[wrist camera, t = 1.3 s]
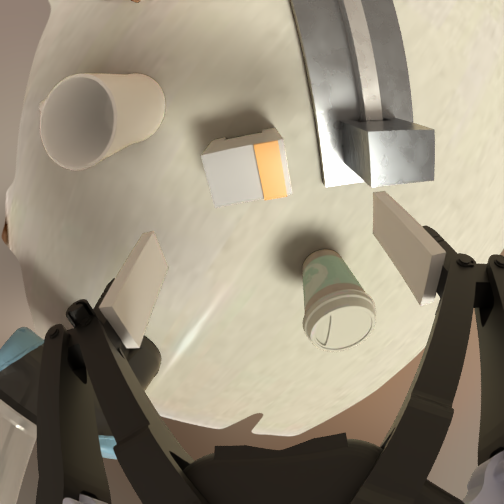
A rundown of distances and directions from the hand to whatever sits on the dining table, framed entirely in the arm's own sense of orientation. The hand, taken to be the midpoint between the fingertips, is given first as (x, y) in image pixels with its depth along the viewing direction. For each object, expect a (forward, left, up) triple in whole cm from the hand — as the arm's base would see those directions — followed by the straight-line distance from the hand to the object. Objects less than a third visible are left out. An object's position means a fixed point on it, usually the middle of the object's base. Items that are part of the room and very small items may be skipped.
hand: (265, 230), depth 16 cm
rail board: (+13, +11, -17) cm, 24 cm away
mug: (-14, +11, -17) cm, 25 cm away
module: (-1, +1, -17) cm, 17 cm away
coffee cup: (+6, -16, -17) cm, 24 cm away
